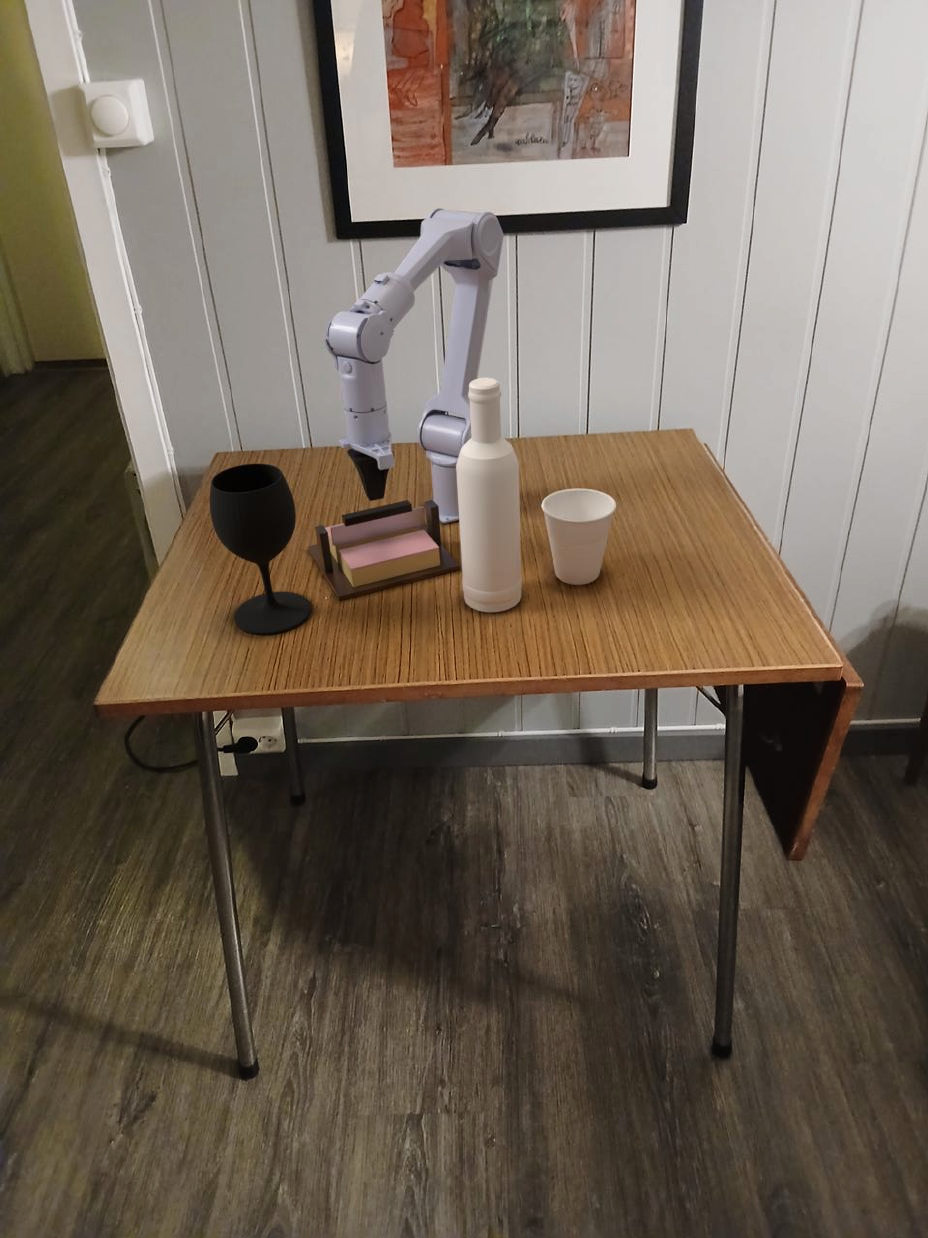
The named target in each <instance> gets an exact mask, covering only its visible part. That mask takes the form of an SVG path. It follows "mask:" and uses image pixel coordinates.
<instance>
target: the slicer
mask: <svg viewBox="0 0 928 1238" xmlns="http://www.w3.org/2000/svg"><path fill="white" fill-rule="evenodd" d="M433 500H434V499H430V500H425V501H424V503H425V504H424V505H425V506H424V507H425V517H426V518H425V520H426V525H425V524H423V525H420V530H425V532H426V533H427V534H428V535H429V536H430V537H431V538H432V540H433V541H434V542H435V543H436V544H437V545H438V547H439V556H440V566H436V567H432V568H428V569H424V570H420V571H416V572H412V573H408V574H404V575H400V576H396V577H392V578H388V579H384V580H380V581H376V582H373V583H369V584H365V585H361V586H357V587H353V586H352V584H351V583H350V581H349V580H348V578H347V577H346V575H345V573H344V572H343V570H342V569H341V564H340V563H337V561H336V560H335V558H334V557H333V555H332V553H331V551H330V544H329V537H328V532H327V530H326V529H325V528H326V527H325V526H324V524H321V525H317V526H315V527H314V529H315V536H316V544H312V545H309V546H307V548H308V552H309V553H310V555H311V556H312V558H313V560H314V562H315V564H316V565H317V567H318V568H319V570H320V572H321V573H322V574H323V576H324V578H325V580H326V582H327V583H328V585H329V587H330V588H331V590H332V592H333V593H334V595H335V596H336V598H337V600H338V601H339V602H340V601H344V600H348V599H352V598H355V597H360V596H364V595H367V594H372V593H375V592H380V591H382V590H388V589H392V588H395V587H398V586H403V585H406V584H410V583H414V582H419V581H422V580H427V579H429V578H434V577H437V576H441V575H445V574H450V573H453V572H457V571H460V570H461V567H460V566H461V565H460V564H459V562H458V561H457V560H456V559H455V558H454V557H453V556H452V555H451V554H450V552H449V551H448V550H447V548H445V547H444V545H443V544H442V538H441V537H442V536H441V521H440V520H439V506H438V505H437V504H436V503H435V502H434V501H433Z"/></svg>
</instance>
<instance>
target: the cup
mask: <svg viewBox="0 0 928 1238" xmlns="http://www.w3.org/2000/svg"><path fill="white" fill-rule="evenodd" d="M616 502H617V501H616V500H615V499H614V498H613V497H612V496H611V495H609V494H608V493H605V492H603V491H600V490H596V489H591V488H582V487H581V488H580V487H578V488H576V487H575V488H566V489H565V488H564V489H562V490H557V491H555V492H552V493H550V494H548V495H547V496H545V498H543V500H542V503H541V505H540V506H541V509H542V511H543V514H544V518H545V525H546V531H547V536H548V541H549V547H550V552H551V557H552V563H553V569H554V574H555V576H556V577H557V578H558V579H559V581H561V582H563V583H566V584H567V585H572V586H582V585H583V586H584V585H587V584H590V583H592V582H594V581H595V580H597V578H599V576H600V573H601V570H602V569H601V568H602V564H603V560H604V555H605V550H606V546H607V542H608V537H609V533H610V530H611V529H610V528H611V526H612V525H611V524H612V520H613V515H614V513H615V511H616V510H617V503H616Z"/></svg>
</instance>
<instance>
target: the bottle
mask: <svg viewBox="0 0 928 1238" xmlns="http://www.w3.org/2000/svg"><path fill="white" fill-rule="evenodd" d="M500 386H501V385H500V382H499V381H498V380H497V379H495V378H493V377H479V378H477V379H475V380H473V381H471V382H470V384H469V392H468V397H469V399H470V417H471V438H470V439H469V440H468V441H467V442H466V443H465V444H464V445H463V446H462V448H461V450H460V454H459V457H458V460H457V464H456V473H457V490H458V506H459V520H458V521H459V537H460V555H461V556H460V558H461V571H462V572H461V573H462V579H461V584H462V585H461V587H462V590H463V599H464V602H465V604H466V605H467V606H469V608H471V609H472V610H473V609H474V610H475V611H478V612H483V613H489V614H490V613H500V612H506V611H508V610H510V609H512V608H514V607H516V606H517V605H518V604H519V603H520V601H521V599H522V588H523V578H522V577H523V576H522V560H521V559H522V555H521V554H522V553H521V552H522V551H521V510H520V509H521V508H520V507H521V505H520V504H521V503H520V502H521V501H520V463H519V459H518V457H517V454H516V452H515V449H514V447H513V445H512V444H511V442H509V441H508V440H507V439H505V438H504V437H503V436H502V423H501V421H502V420H501V419H502V417H501V396H502V391H501V388H500Z"/></svg>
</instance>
